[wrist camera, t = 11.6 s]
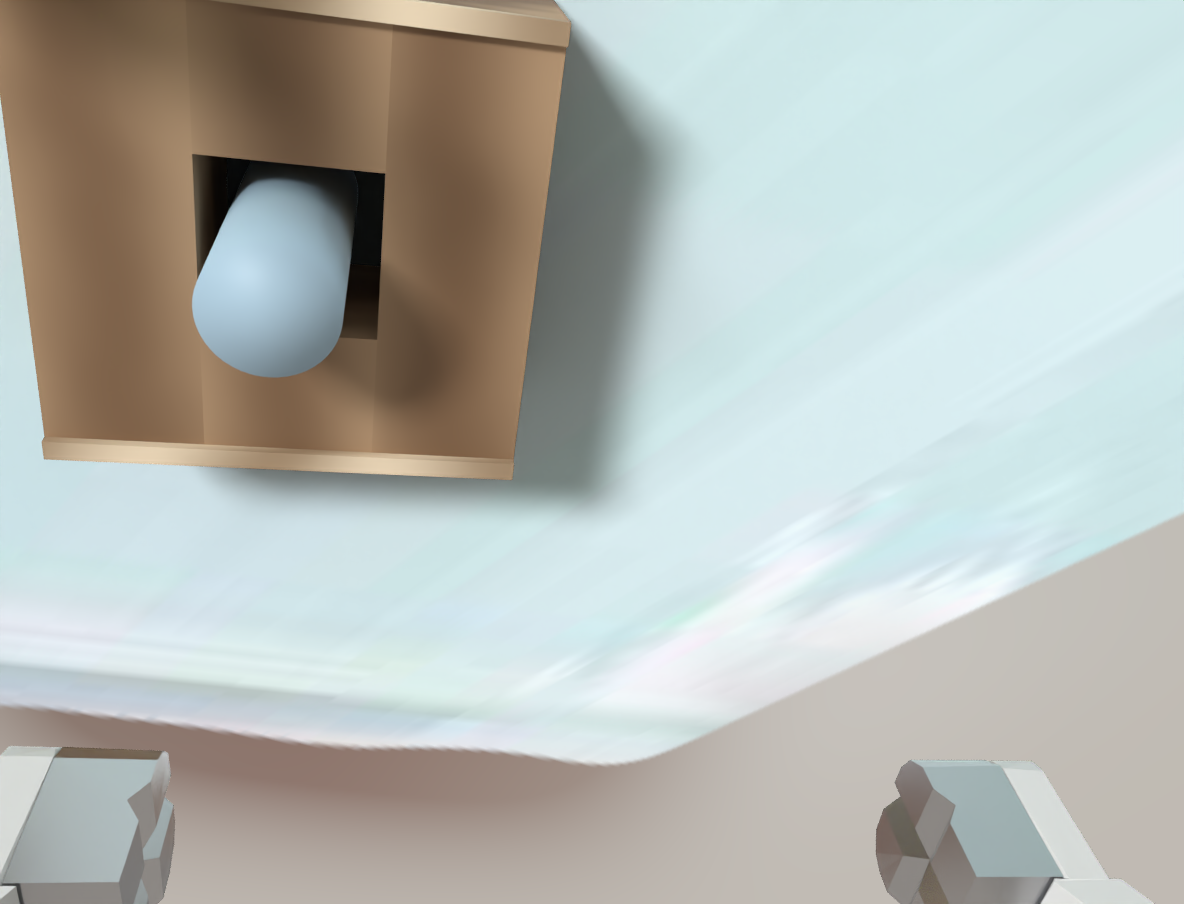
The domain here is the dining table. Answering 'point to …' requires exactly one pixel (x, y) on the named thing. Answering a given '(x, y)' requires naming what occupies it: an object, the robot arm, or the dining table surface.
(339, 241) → the dowel
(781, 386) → the dining table surface
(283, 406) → the socket block
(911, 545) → the dining table surface
